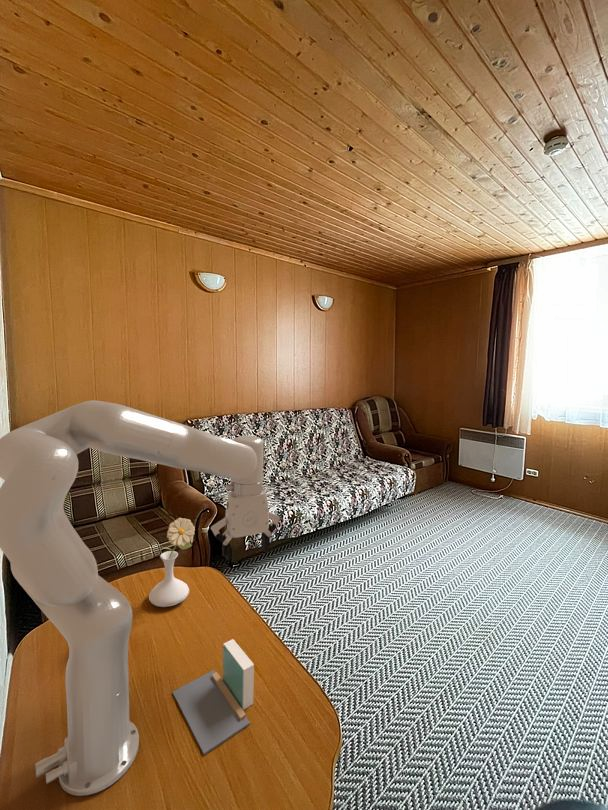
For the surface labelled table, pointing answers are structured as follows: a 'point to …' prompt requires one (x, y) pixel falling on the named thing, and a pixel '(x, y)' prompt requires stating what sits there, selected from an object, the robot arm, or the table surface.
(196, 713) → the charcoal mat
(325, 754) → the table surface
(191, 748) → the table surface
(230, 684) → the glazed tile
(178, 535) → the flower in vase
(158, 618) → the table surface
